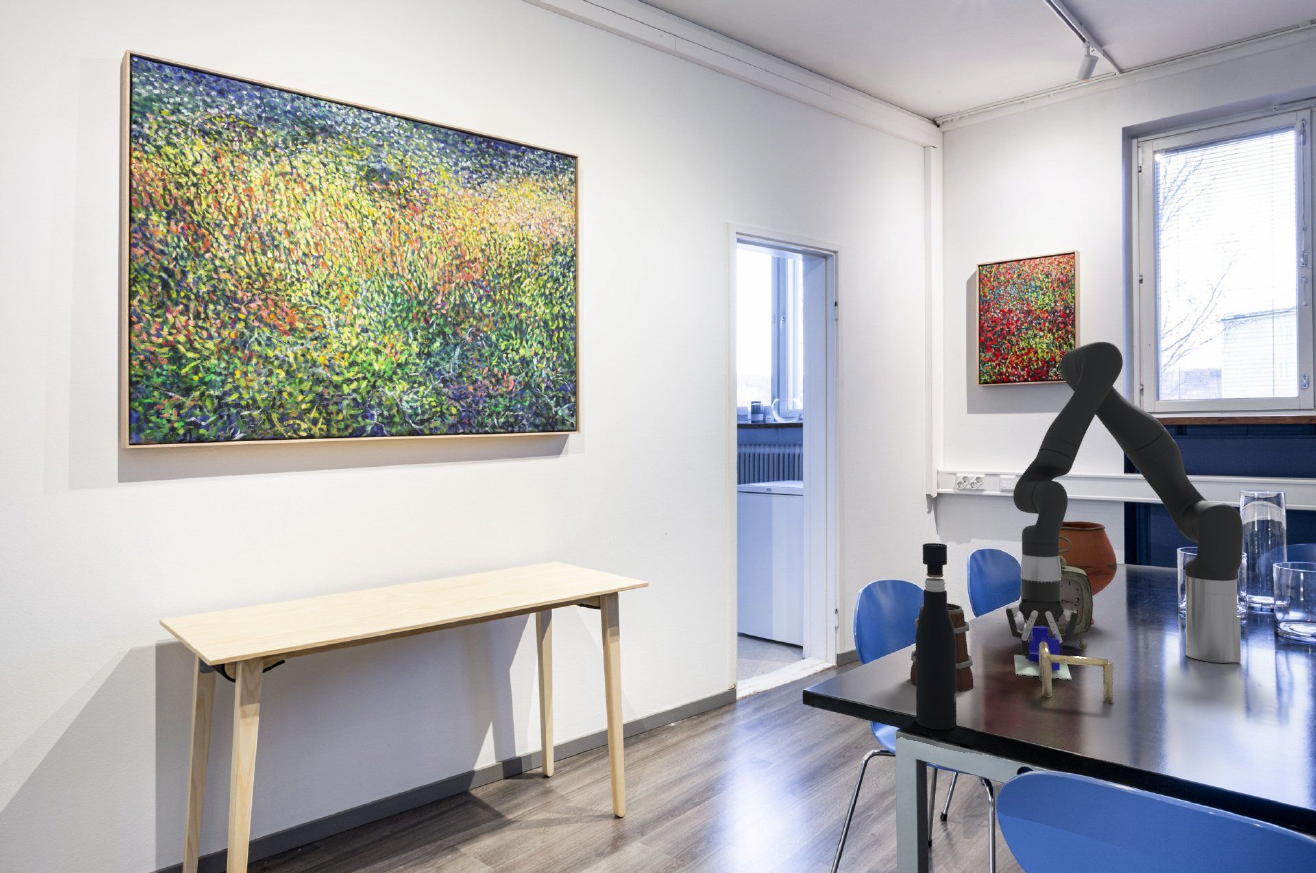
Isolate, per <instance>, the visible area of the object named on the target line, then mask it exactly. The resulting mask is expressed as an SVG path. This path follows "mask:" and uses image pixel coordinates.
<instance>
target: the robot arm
mask: <svg viewBox="0 0 1316 873" xmlns="http://www.w3.org/2000/svg"><path fill="white" fill-rule="evenodd" d="M1123 359H1124V358H1123V356H1122V352H1121V350H1120V349H1119V348H1118V347H1117V346H1116V345H1115V344H1113V343H1111V342H1110V341H1105V340H1099V341H1094V342H1090V343H1087V344H1084V345H1081V346H1079V347H1075V348H1072V349H1071V350H1070V349H1069V351H1067V352H1065V353H1064V354H1063V355H1062V357H1061V359H1060V363H1059V367H1060V368H1059V369H1060V372H1061V375H1062V378H1063V380H1064V381H1065V382H1066V384H1067V385H1068V387H1069V388H1070V389H1072V391H1073V394H1072V395H1071V397H1070V398H1069V400H1068V402H1067V403H1066V404H1065V405H1064V407H1063V408H1062V409H1061V411H1060V412H1059V413H1058V414H1057V416H1056V417H1055V418H1054V420H1053V421H1052V423H1051V424H1050V425H1049V427H1048V429H1047V431H1046V432H1045V435H1044V436H1043V439H1042V442H1041V443H1040V446H1039V448H1038V452H1037V454H1036V456H1035V458H1034V459H1033V461H1032V462H1031V463H1030V464H1029V465H1028V466H1027V468H1026V469H1025V470H1024V471H1023V474H1022V475H1021V476H1020V477H1019V479H1018V481H1017V482H1016V483H1015V486H1014V488H1013V493H1012V494H1013V495H1012V497H1013V503H1014V505H1015V507H1016V508H1017V509H1018V510H1019V511H1020V512H1023V513H1027V514H1036V515H1037V516H1038V517H1037V519H1036V523H1035V524H1033V525H1028V526H1025V527H1023V528H1022V531H1021V561H1020V593H1021V595H1020V601H1019V603H1018V605H1017V606H1006V607H1005V614H1006V617H1007V621H1008V625H1009V629H1010V632H1011V636H1012V637H1013V638H1017V639H1020V641H1021V644H1020V645H1021V654H1022V655H1023V656H1025V659H1029V639H1028V638H1030V635H1031V630H1032V627H1033V626H1044V627H1050V628H1051V630H1052V632H1053V634H1052V636H1054V637H1055V638H1058V639H1059V651H1060V655H1063V643H1065V642H1070V641H1072V640H1073V636H1074V634H1073V633H1074V630H1075V626H1076V622H1077V619H1078V614H1077V612H1076V611H1075V610H1072V611H1070V610H1066V609H1064V608H1063V606H1062V604H1061V565H1060V559H1059V534H1060V531H1061V528H1062V524H1063V522H1064V519H1065V517H1066V513H1067V509H1068V504H1069V503H1068V502H1069V500H1068V494H1067V491H1066V489H1065V487H1064V485H1062V484H1061V483H1060V482H1059V481H1055V480H1054V479H1056V478H1058V477H1063V476H1066V475H1068V474H1069V473H1070V472H1071V469H1072V467H1073V465H1074V462H1075V460H1076V458H1077V455H1078V453H1079V450H1080V447H1081V445H1082V443H1083V441H1084V437H1085V436H1086V434H1087V432H1088V429H1089V427H1090V426H1091V423H1092V421H1093V420H1094V418H1095V416H1096V417H1097V418H1098V419H1099V421H1100V422H1101V424H1102V425H1103V426H1104V427H1105V429H1106V430H1107V431H1108V432H1109V434H1110V435H1111V436H1112V437H1113V438H1114V440H1115V441H1116V443H1117V444H1118V446H1119V447H1120V448H1121V450H1122V451H1123V453H1124V454H1125V455H1126V457H1127V458H1128V459H1129V461H1130V462H1131V463H1132V464H1133V466H1134V467H1135V468H1136V469H1137V471H1138V472H1139V473H1140V474H1141V475H1142V477H1143V478H1144V480H1145V481H1146V482H1147V484H1148V485H1149V486H1150V488H1151V489H1152V490H1153V491H1154V492H1155V494H1157V496H1158V498H1159V499H1160V501H1161V502H1162V504H1163V506H1164V508H1165V509H1166V511H1167V512H1168V514H1169V515H1170V517H1171V519H1172V520H1173V522H1174V524H1175V526H1176V527H1177V529H1178V531H1179V532H1180V533H1181V534H1182V535H1183V536H1184V537H1185V538H1187V539H1188V541H1192V542H1194V543H1197V547H1196V548H1197V549H1196V552H1197V553H1196V556H1195V557H1194V558H1193V559H1191V560H1189V561H1187V562H1186V563H1185V567H1184V569H1185V579H1184V580H1185V654H1186V656H1187V657H1189V658H1191V659H1194V660H1199V661H1203V662H1208V663H1209V662H1210V663H1218V664H1219V663H1220V664H1230V663H1231V664H1232V663H1241V662H1242V658H1241V656H1242V654H1241V652H1242V650H1241V647H1242V646H1241V638H1242V637H1241V636H1242V634H1241V633H1242V632H1241V627H1242V626H1241V617H1240V615H1238V571H1239V569H1240V567H1241V564H1242V560H1243V548H1244V547H1243V546H1244V545H1243V544H1244V525H1243V524H1244V523H1243V519H1242V516H1241V515H1240V513H1239V511H1238V509H1236V508H1235V507H1234V506H1232V505H1230V504H1227V503H1224V502H1216V501H1215V502H1214V501H1209V500H1207V499H1206V498H1204V496H1202V494H1201V493H1200V492H1199V491H1198V489H1196V487H1195V486H1194V485H1193V484H1192V482H1191V481H1190V479H1189V478H1188V475H1187V473H1186V471H1185V466H1184V461H1183V457H1182V453H1181V449H1180V448H1179V445H1178V444H1177V442H1176V440H1175V439H1174V438H1173V436H1172V435H1171V434H1170V432H1169V431H1168V429H1167V427H1165V426H1164V425H1163V424H1162V422H1161V421H1160V420H1159V419H1158V418H1157V417H1155V416H1153V415H1152V413H1149V411H1146V410H1145V409H1143V408H1142V407H1139V406H1138V405H1136V404H1135V403H1133V402H1132V401H1130V400H1128V399H1127V398H1125V397H1124V396H1123V395H1122V394H1121V393H1120V392H1118V390H1117V389H1116V388H1115V387H1114V386H1113V385H1114V384H1115V382H1117V380H1118V378H1119V376H1120V374H1121V372H1122V370H1123V367H1124V365H1123V364H1124V362H1123ZM1018 612H1020V614H1021V615H1022V617H1023V616H1024V617H1025V619H1026V623H1025V622H1024V626H1023V628H1022V631H1021V630H1019V629H1018V626H1017V623H1016V620H1015V618H1017V617H1018ZM1062 614H1064V615H1065V618H1066V620H1067V621H1068V624H1067V628H1066V631H1065V634H1060V632H1059V630H1058V627H1057V625H1056V622H1057V620H1058V619H1059V618H1060V617H1061V616H1062Z"/></svg>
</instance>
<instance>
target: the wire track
mask: <svg viewBox="0 0 1316 873" xmlns="http://www.w3.org/2000/svg"><path fill="white" fill-rule="evenodd" d="M1051 662H1053V663H1064V664H1067V665H1076V666H1077V665H1078V666H1080V665H1081V666H1091V667H1099V668H1100V667H1102V701H1104V702H1103V703H1105V702H1108V703H1107V704H1110V703H1111V704H1114V663H1113V662H1110V661H1109V659H1108V658H1098V657H1087V656H1086V657H1085V656H1074V655H1063V654H1062V655H1051V654H1050V653H1049V649H1048V645H1047V643H1046V642H1044V641H1042V642H1041V643H1040V644H1039V677H1038V678H1039V680H1040V681H1039V682H1041V681H1042V682H1041V696H1042V695H1043V696H1052V697H1053V694H1052V693H1053V692H1052V690H1053V688H1052V686H1053V685H1052V679H1053V678H1052V670H1051ZM1043 696H1042V697H1043Z"/></svg>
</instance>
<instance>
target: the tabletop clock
mask: <svg viewBox="0 0 1316 873" xmlns="http://www.w3.org/2000/svg"><path fill="white" fill-rule="evenodd" d="M1059 539H1063V540H1066V541H1067V542H1068V543H1069V544H1070V547H1069V549H1067V550H1063V551H1059V554H1063V553H1067V552H1068V551H1070V550H1071V548H1072V543H1071V541H1070V540H1069V539H1067V538H1065V537H1063V536H1059ZM1059 559H1060V565H1061V604H1062V606H1063V608H1064V609H1066V610H1070V611H1072V610H1075V611H1076V612H1077V614H1078V619H1077V622H1076V626H1075V630H1074V633H1073V635H1074V636H1075V637H1076V638H1077V640H1078V641H1079V643H1078V647H1079V649H1081V650H1086V649H1087V647H1088V644H1087V643H1086V642H1085V641H1083V640H1082V637H1081V635H1082V634H1084V633H1087V632H1089V630H1090V627H1091V626H1092V624H1091V621H1092V618H1093V611H1094V608H1093V607H1094V601H1093V600H1094V598H1093V597H1094V596H1092V588H1091V584H1090V581H1089V579H1088V577H1087V575H1086V573H1085V572H1084V570H1081V569H1079V568H1076V567H1070V566H1068V565H1067V562H1066V560H1065V559H1064V558H1063V557H1062V556H1059ZM1020 596H1021V592H1020ZM1022 619H1023V622H1024V624H1025V623H1026V619H1025V617H1024V616H1023V615H1022ZM1067 624H1068V621H1067V620H1066V618H1065V615H1064V614H1062V616H1061V617H1060V618H1059V619H1058V620H1057V622H1056V625H1057V627H1058V630H1059V632H1060V635H1061V634H1065V631H1066V628H1067ZM1047 628H1048V634H1052V636H1051V638H1055V637H1054V635H1053V632H1052V630H1051V628H1050V627H1047ZM1028 639H1029V640H1031V637H1028Z"/></svg>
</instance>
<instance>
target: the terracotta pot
mask: <svg viewBox="0 0 1316 873" xmlns="http://www.w3.org/2000/svg"><path fill="white" fill-rule="evenodd" d="M1105 528H1106V527H1105V525H1104V524H1102V523H1096V522H1091V521H1083V520H1082V521H1063V524H1062V528H1061V531H1060V534H1059V536H1063V537H1065V538H1067V539H1069V540H1070V541H1071V543H1072V548H1071V550H1070V551H1068V552H1067V553H1063V554H1059V556H1062V557H1063V558H1064V559H1065V560H1066V562H1067V565H1068V566H1070V567H1076V568H1079V569H1081V570H1084V572H1085V573H1086V575H1087V577H1088V579H1089V581H1090V584H1091V588H1092V597H1094V596H1095V595H1097V594H1099V593H1100V592H1102V591H1104V589H1105V588H1106V587H1107V586H1108V585H1109V584H1110V583H1111V582H1112V581H1113V580H1114V578H1115V575H1116V573H1117V570H1118V564H1117V563H1118V561H1117V556H1116V554H1115V550H1114V548H1113V545H1112V543H1111V541H1110V539H1109V537H1108V535H1107V532H1106V529H1105ZM1069 547H1070V544H1069V543H1068V542H1067V541H1066V540H1063V539H1059V551H1063V550H1067V549H1069ZM1094 623H1095V619H1094V617H1092V621H1091V625H1092V624H1094Z"/></svg>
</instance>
